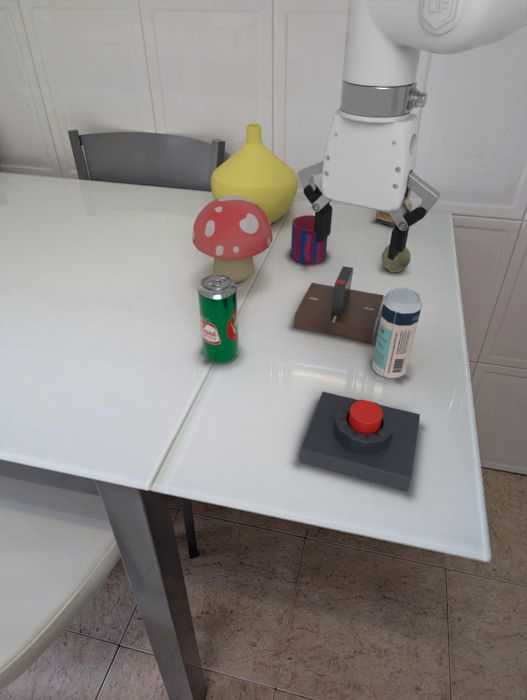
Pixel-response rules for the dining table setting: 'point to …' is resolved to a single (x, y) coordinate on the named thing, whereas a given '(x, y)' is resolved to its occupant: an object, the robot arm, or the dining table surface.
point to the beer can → (396, 332)
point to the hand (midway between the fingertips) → (357, 246)
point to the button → (365, 417)
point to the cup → (306, 241)
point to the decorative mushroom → (232, 235)
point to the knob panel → (351, 324)
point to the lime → (396, 260)
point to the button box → (362, 443)
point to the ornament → (388, 216)
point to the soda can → (218, 318)
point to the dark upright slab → (342, 290)
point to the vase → (256, 177)
